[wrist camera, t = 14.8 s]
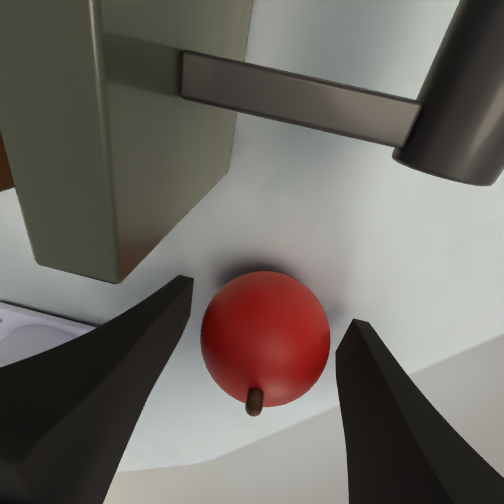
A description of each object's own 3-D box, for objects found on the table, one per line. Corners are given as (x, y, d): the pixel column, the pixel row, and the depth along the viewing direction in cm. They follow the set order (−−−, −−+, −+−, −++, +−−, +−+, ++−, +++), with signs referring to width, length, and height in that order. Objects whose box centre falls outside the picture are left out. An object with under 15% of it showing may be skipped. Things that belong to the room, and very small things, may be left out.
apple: (306, 342, 13) (310, 473, 9) (213, 319, 14) (168, 434, 9) (340, 264, 11) (371, 387, 6) (227, 236, 11) (174, 336, 7)
